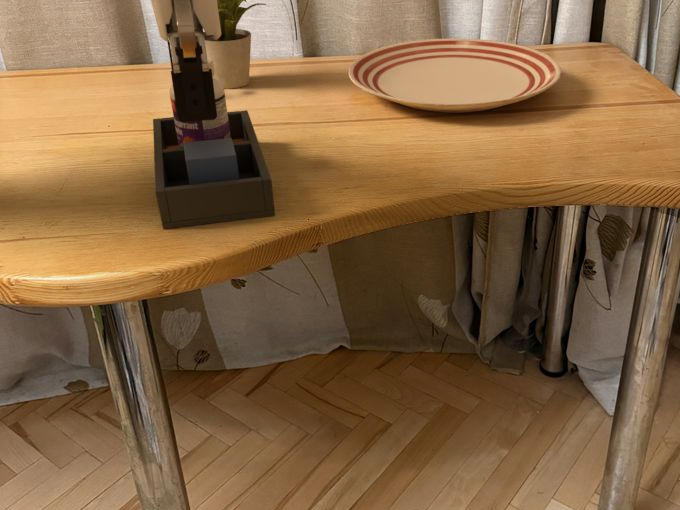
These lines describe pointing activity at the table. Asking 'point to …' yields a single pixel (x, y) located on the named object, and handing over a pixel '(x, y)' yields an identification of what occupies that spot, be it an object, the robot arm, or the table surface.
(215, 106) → the robot arm
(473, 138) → the table surface
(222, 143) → the gray cube
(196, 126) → the pill bottle
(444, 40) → the dinner plate
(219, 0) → the house plant
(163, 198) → the sorter
